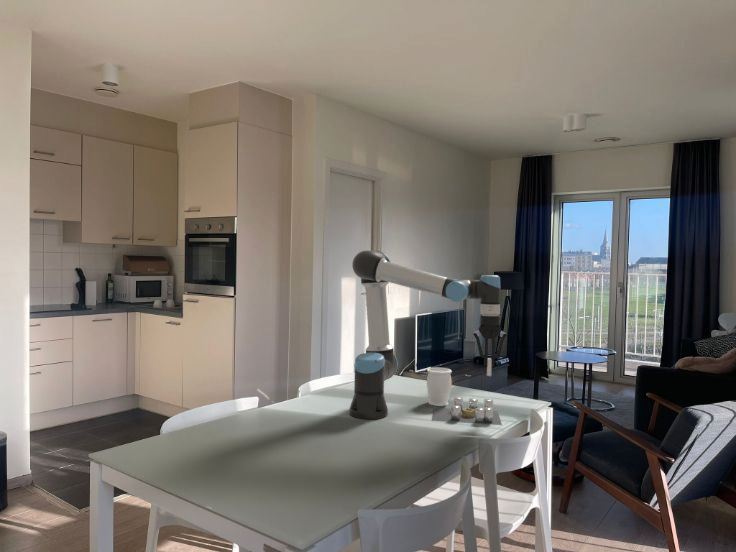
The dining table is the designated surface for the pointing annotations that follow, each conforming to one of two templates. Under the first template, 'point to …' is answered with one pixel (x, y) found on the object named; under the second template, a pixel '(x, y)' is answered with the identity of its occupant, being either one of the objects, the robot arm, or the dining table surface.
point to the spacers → (480, 413)
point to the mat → (445, 415)
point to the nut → (468, 412)
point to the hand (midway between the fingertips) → (489, 375)
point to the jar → (439, 385)
